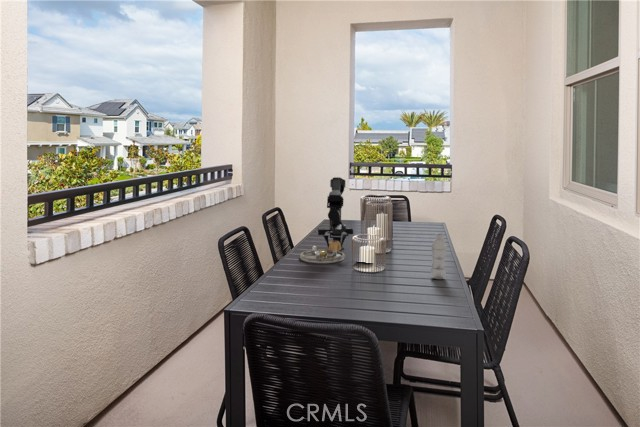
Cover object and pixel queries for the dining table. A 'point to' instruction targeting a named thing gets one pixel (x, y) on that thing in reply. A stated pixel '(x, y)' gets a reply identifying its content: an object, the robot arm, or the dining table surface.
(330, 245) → the planet gear
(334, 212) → the robot arm
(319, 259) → the carrier
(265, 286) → the dining table surface
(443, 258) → the plastic bottle
